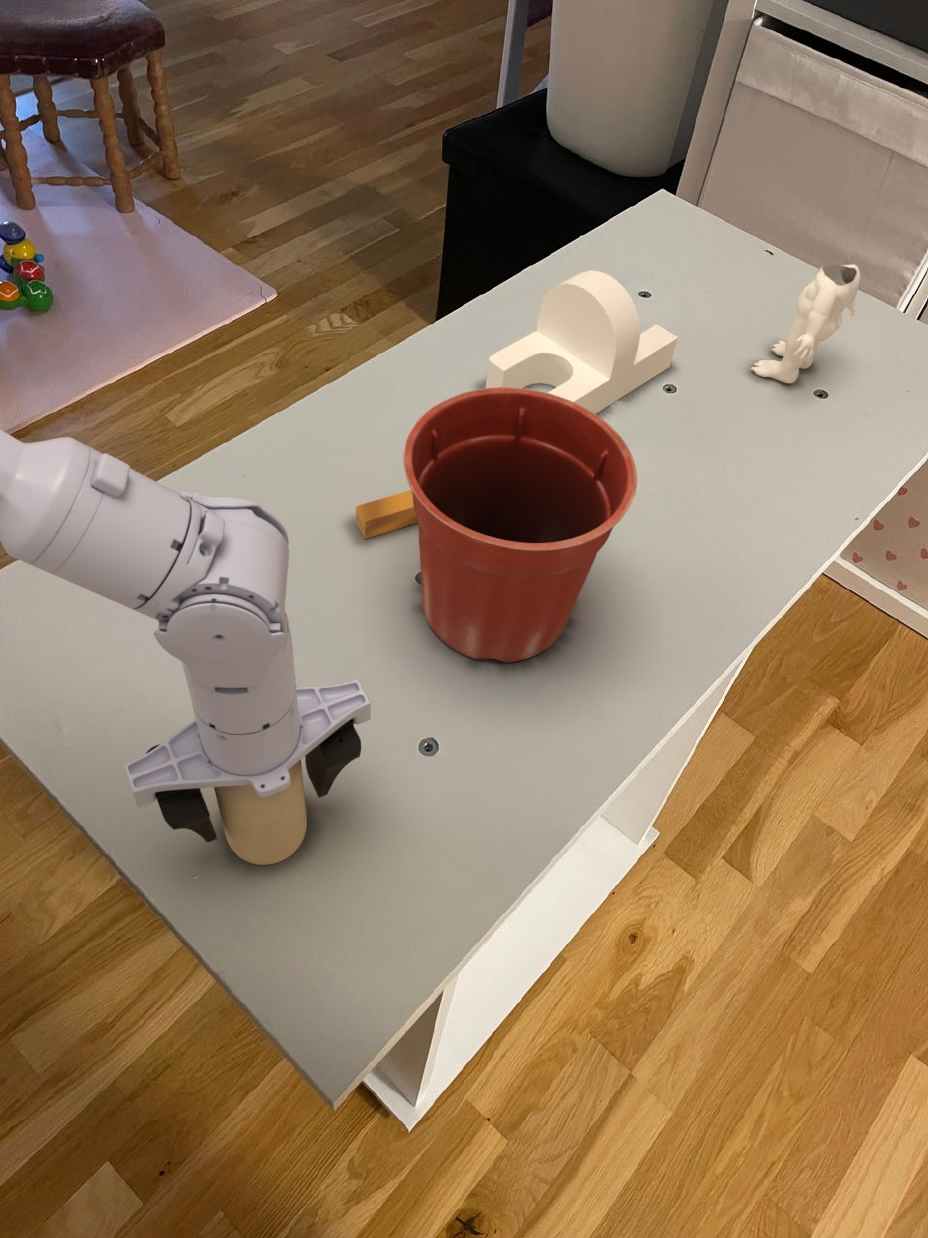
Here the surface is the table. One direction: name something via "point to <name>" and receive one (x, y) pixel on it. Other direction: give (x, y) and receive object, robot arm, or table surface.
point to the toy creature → (813, 321)
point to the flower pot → (511, 514)
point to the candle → (264, 820)
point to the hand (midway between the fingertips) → (263, 805)
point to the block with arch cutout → (585, 345)
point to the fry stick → (386, 514)
